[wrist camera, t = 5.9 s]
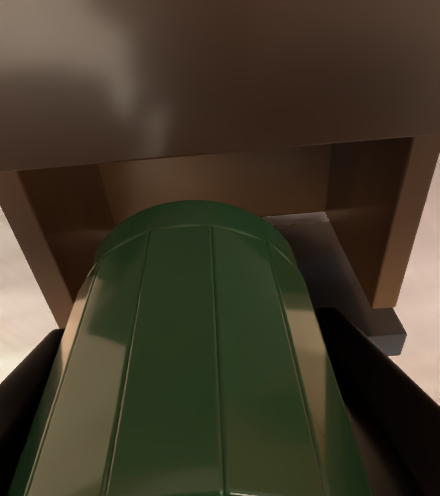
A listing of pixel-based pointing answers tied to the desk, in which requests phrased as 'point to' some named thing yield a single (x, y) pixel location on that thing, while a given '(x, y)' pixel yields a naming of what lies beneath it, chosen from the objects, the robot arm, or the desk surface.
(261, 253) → the pot
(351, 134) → the dark brown wooden block
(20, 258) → the desk surface
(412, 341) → the desk surface
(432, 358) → the desk surface
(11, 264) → the desk surface
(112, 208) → the drawer
